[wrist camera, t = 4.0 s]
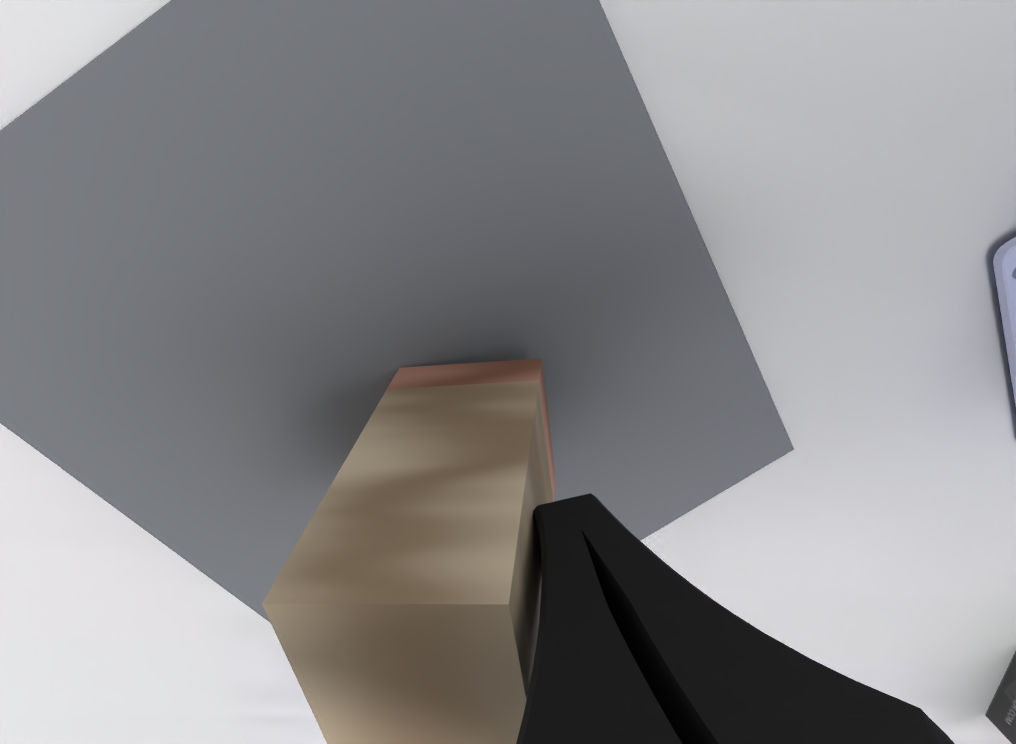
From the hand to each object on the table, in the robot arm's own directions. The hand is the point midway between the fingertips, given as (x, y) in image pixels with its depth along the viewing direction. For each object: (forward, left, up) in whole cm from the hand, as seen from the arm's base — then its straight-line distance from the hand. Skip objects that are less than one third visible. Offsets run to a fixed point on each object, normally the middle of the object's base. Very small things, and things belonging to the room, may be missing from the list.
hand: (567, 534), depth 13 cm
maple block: (0, +1, -5) cm, 5 cm away
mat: (+2, +2, -6) cm, 7 cm away
